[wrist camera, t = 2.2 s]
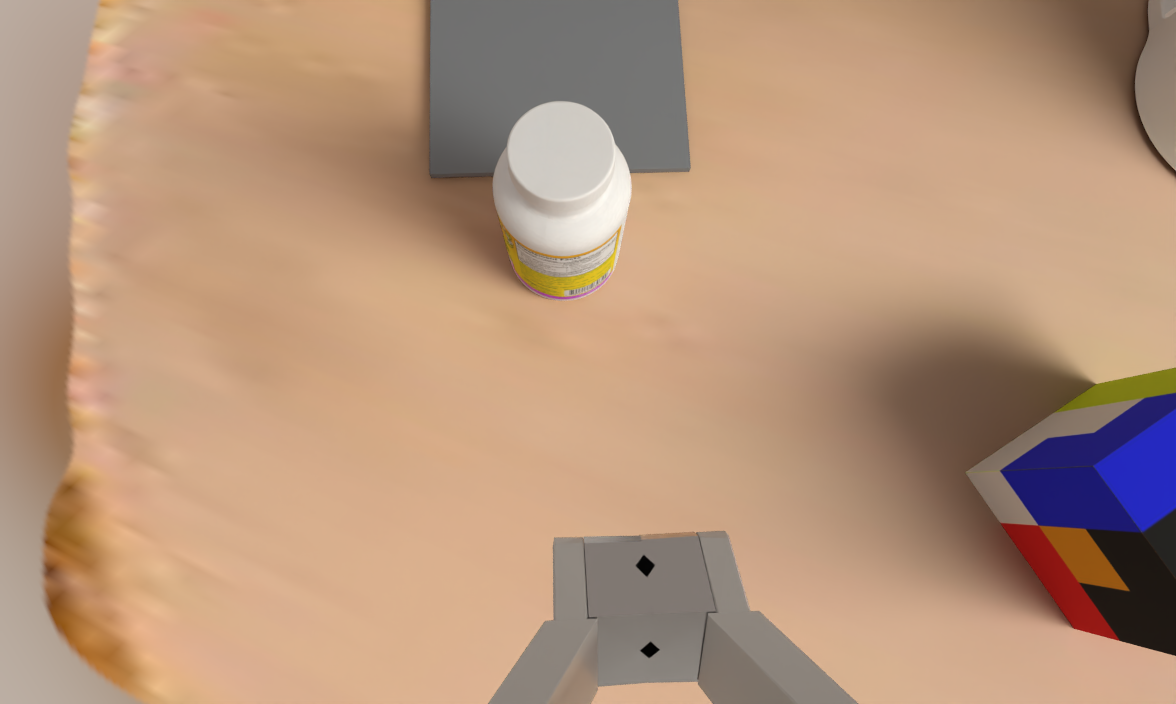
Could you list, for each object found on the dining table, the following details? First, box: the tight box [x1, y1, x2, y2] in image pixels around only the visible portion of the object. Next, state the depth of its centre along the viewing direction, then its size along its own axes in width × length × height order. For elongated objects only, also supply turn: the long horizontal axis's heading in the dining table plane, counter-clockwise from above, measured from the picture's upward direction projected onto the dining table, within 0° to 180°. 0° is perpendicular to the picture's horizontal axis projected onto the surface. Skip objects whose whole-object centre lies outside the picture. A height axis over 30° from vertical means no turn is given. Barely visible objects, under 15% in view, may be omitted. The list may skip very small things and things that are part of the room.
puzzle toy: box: [965, 368, 1176, 656], centre depth 35 cm, size 10×10×10 cm
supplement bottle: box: [493, 101, 632, 301], centre depth 36 cm, size 7×7×13 cm
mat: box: [430, 0, 691, 178], centre depth 44 cm, size 14×16×1 cm
